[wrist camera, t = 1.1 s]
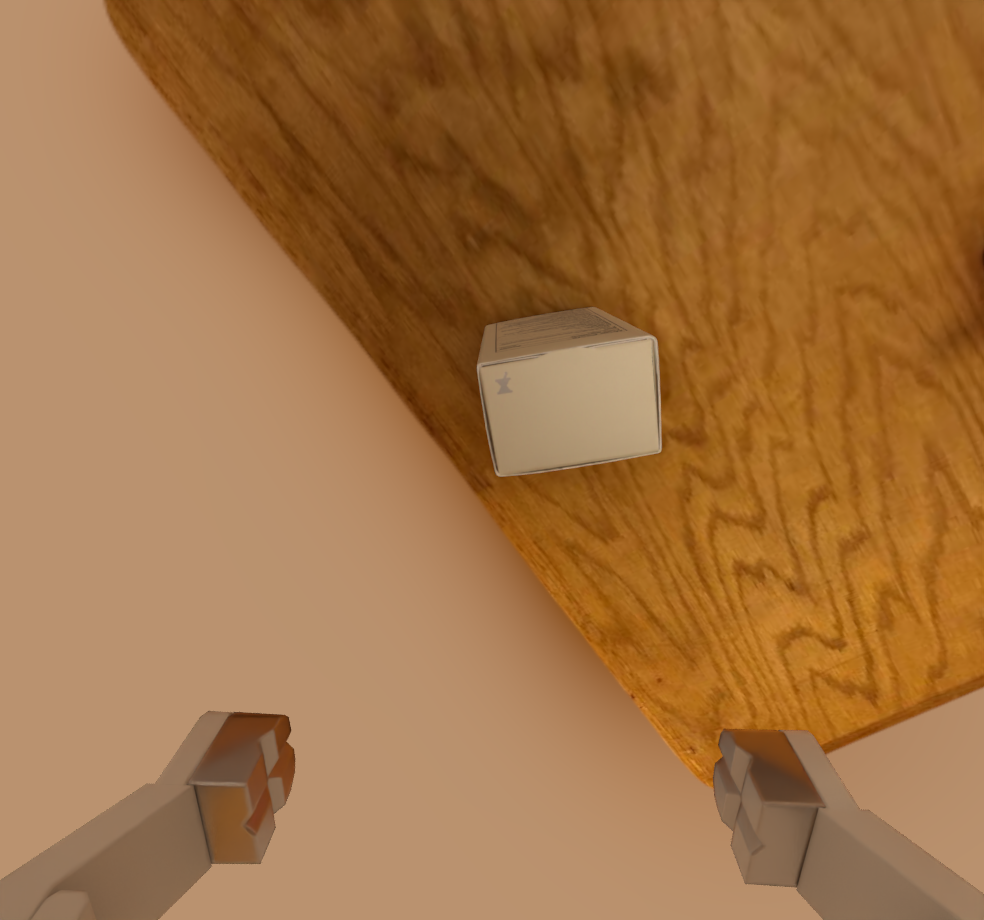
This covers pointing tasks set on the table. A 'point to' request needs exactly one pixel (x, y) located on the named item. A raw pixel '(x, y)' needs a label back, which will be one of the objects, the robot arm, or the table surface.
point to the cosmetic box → (568, 391)
